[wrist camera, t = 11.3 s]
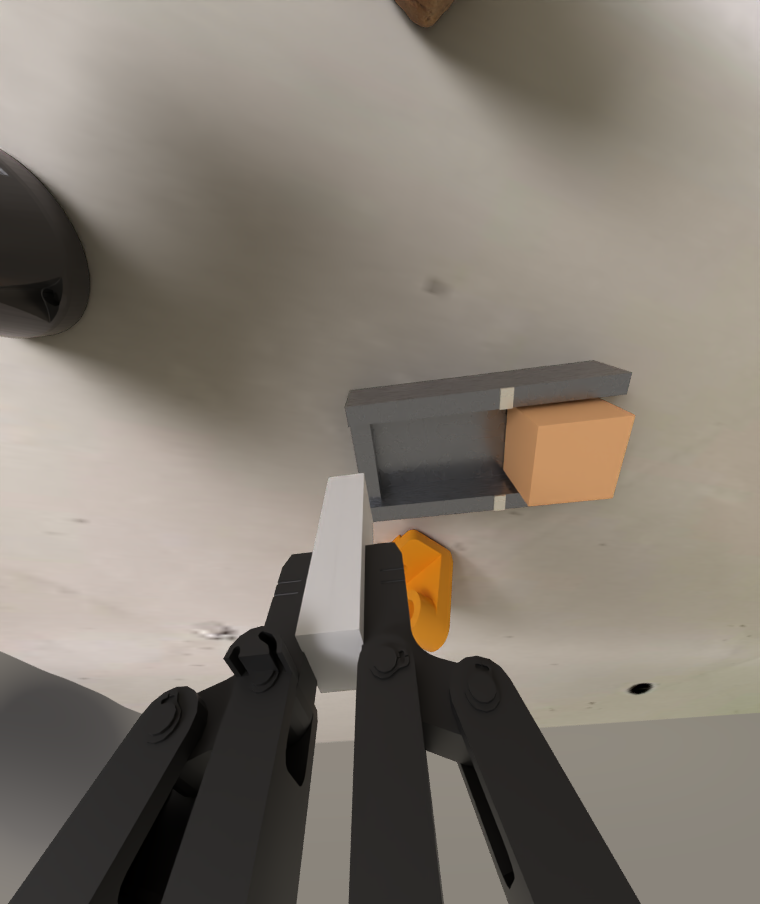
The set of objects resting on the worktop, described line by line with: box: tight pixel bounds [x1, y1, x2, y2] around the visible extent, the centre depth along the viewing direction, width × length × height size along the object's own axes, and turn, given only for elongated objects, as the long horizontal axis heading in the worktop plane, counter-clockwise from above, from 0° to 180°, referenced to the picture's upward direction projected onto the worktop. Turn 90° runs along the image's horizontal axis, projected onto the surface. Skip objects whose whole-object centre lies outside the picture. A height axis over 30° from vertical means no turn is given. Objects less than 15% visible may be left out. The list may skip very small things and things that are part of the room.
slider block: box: [503, 398, 635, 506], centre depth 31 cm, size 8×9×7 cm
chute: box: [345, 360, 632, 522], centre depth 34 cm, size 26×14×6 cm, turn 97°
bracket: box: [392, 530, 453, 652], centre depth 40 cm, size 11×7×12 cm, turn 142°
